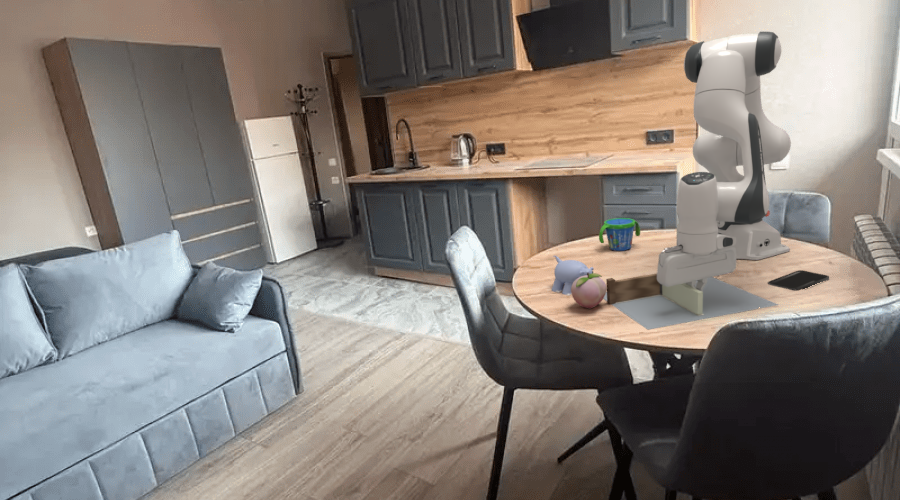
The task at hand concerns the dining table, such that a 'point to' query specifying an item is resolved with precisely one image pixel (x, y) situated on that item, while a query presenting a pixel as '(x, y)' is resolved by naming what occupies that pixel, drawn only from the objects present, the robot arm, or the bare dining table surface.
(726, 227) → the robot arm
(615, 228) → the snack cup
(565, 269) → the hippopotamus toy
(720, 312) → the board
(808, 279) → the phone
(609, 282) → the fence fixed
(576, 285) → the decorative fruit
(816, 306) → the dining table surface
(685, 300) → the fence gate
